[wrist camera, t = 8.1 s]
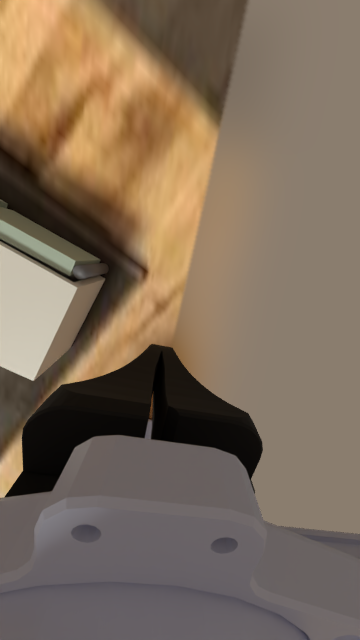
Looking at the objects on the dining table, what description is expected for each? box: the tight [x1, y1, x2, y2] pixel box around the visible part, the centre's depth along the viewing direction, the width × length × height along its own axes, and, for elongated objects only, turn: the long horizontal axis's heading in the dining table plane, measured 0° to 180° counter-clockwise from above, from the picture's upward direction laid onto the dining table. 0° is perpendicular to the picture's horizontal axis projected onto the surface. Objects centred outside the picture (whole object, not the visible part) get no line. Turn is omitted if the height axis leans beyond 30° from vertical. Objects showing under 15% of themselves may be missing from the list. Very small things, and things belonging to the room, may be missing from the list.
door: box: [0, 207, 109, 279], centre depth 16 cm, size 2×9×5 cm, turn 60°
